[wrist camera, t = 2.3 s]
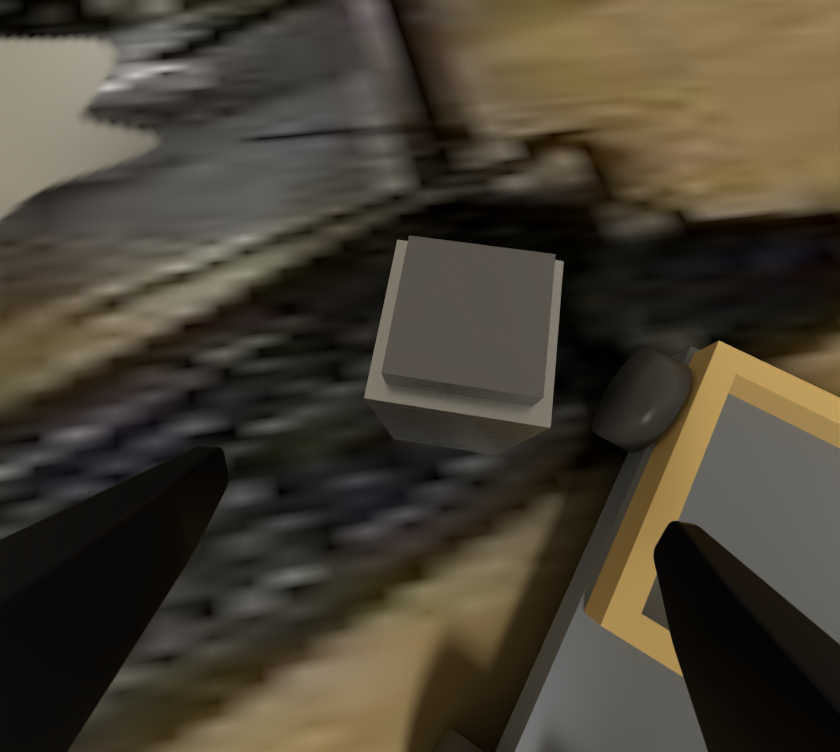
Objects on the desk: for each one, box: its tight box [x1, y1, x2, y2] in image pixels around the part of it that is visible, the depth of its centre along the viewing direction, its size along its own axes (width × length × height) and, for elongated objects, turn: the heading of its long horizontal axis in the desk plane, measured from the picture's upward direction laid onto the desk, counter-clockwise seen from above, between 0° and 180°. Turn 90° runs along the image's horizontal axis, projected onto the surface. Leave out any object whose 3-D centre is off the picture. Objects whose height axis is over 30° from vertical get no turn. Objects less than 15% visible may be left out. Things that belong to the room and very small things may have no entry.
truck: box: [432, 341, 840, 752], centre depth 14 cm, size 23×15×6 cm, turn 149°
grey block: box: [364, 236, 564, 456], centre depth 15 cm, size 5×5×10 cm
